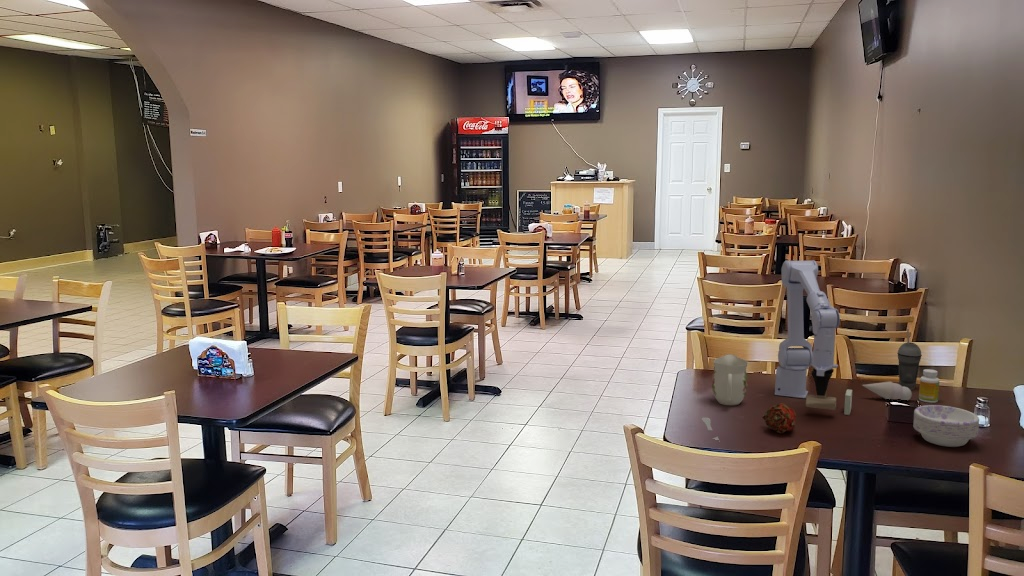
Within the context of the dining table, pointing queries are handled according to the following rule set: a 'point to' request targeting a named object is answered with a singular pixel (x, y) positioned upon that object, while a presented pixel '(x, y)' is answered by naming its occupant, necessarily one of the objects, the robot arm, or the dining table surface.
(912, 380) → the beverage cup
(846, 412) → the tile
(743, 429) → the dining table surface
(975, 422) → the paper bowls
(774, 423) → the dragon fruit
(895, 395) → the ice cream cone
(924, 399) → the supplement bottle
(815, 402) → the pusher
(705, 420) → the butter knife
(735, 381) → the pitcher
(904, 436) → the dining table surface
